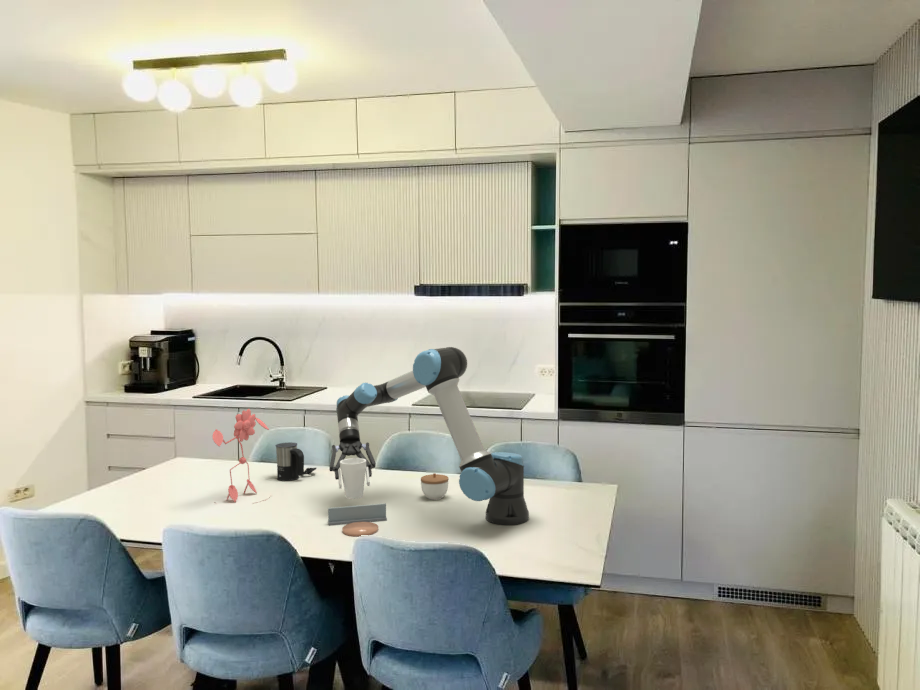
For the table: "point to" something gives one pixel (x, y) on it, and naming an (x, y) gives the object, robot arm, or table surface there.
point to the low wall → (357, 514)
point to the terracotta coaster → (360, 528)
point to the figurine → (243, 431)
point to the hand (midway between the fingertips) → (354, 485)
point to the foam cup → (353, 477)
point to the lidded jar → (434, 486)
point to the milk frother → (290, 462)
